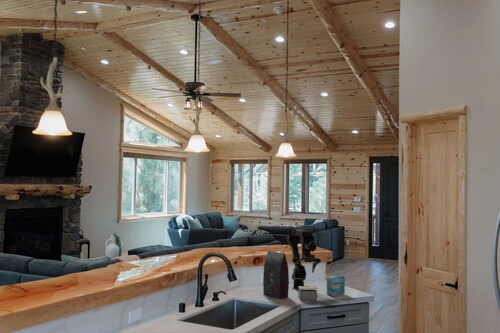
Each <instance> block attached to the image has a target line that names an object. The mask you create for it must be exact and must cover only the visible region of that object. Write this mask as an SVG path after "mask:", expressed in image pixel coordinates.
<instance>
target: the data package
mask: <svg viewBox="0 0 500 333" xmlns="http://www.w3.org/2000/svg"><path fill="white" fill-rule="evenodd" d="M345 279H346V278H345V276H343V275H339V274H338V275H337V274H336V275H329V276H327V278H326V294H327V296H331V297H335V296H342V295H343V296H344V294H345V287H346V286H345V284H346V282H345Z"/></svg>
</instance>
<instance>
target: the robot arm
mask: <svg viewBox="0 0 500 333" xmlns="http://www.w3.org/2000/svg"><path fill="white" fill-rule="evenodd" d="M300 239H301V255H300V250H299V244H300ZM286 241H287V244H288V245H289V247H290V248H291V253H292V257H291V262H292V263H294V268H293V272H292V274H291V280H292V281H293V287H292V289H294V290H299V288H298V286H305V281H306V279H307V271H306V266H305V265H303V264H302V262H305V263H312V266H311V267H312V269H311V270H312V272H311V273H312V274H314V272H315V268H316V267H317V265H319V264H321V261H322V260H321V258H320V257H315V254H312V252H313V253H314V252H315V251H317V245H316V243H315V236H314V235H313V232H312V230H302V229H300V228H293V229H292V230H291V231H289V232H288V234H287V236H286Z"/></svg>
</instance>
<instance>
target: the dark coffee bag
mask: <svg viewBox="0 0 500 333" xmlns="http://www.w3.org/2000/svg"><path fill="white" fill-rule="evenodd" d="M289 272H290V271H289V265H288V261H287V256H286V253H284V252H279V251H272V250H267V254H266V257H265V261H264V265H263V275H262V276H263V278H262V279H263V280H262V282H263V283H262V284H263V285H262V287H263V289H262V290H263V295H265V296H268V297H272V298H275V299H279V300H281V299H282V300H283V299H286V298H289V288H290V285H289V284H290V280H289V279H290V275H289Z"/></svg>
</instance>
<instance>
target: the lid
mask: <svg viewBox="0 0 500 333" xmlns="http://www.w3.org/2000/svg"><path fill="white" fill-rule="evenodd" d="M298 288H299V289H301V290H316V291H318V287H316V286H315V285H312V286H311V285H309V286H308V285H304V286H298ZM299 289H298V290H299Z"/></svg>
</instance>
